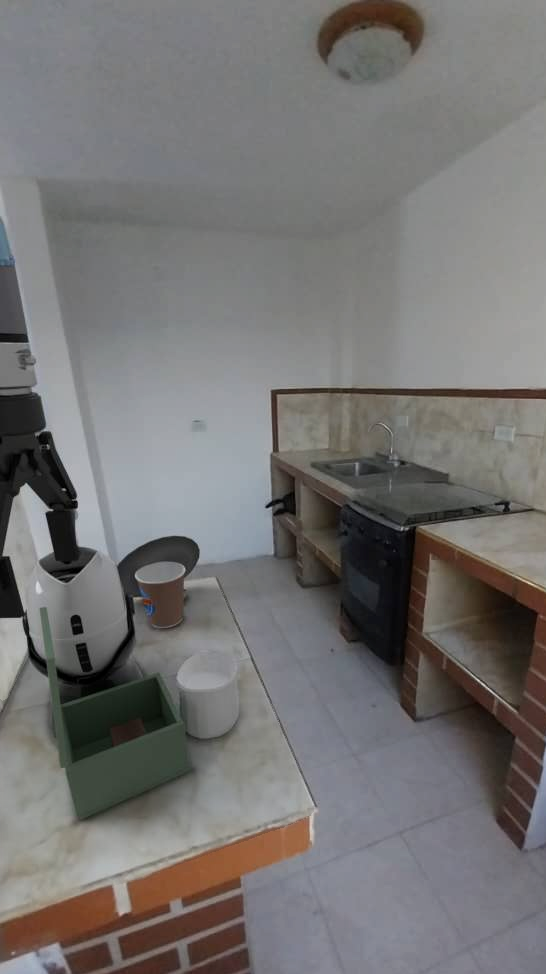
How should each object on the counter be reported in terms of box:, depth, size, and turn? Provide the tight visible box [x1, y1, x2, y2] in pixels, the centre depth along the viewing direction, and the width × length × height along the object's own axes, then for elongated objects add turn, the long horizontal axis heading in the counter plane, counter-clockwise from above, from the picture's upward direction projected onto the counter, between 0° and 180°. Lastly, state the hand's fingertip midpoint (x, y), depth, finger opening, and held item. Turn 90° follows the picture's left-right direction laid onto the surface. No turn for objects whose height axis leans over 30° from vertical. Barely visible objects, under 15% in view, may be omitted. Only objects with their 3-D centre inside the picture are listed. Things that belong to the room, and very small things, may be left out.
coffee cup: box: [135, 562, 185, 629], centre depth 100 cm, size 10×10×12 cm
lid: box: [40, 607, 68, 769], centre depth 57 cm, size 15×13×1 cm
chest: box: [61, 672, 191, 821], centre depth 65 cm, size 15×13×9 cm
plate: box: [117, 535, 201, 599], centre depth 106 cm, size 21×21×2 cm
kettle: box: [21, 509, 144, 741], centre depth 74 cm, size 24×16×32 cm, turn 25°
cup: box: [175, 649, 240, 739], centre depth 73 cm, size 10×10×10 cm
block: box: [109, 718, 146, 747], centre depth 66 cm, size 4×4×4 cm
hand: (42, 584), depth 53 cm, fingers open, 13 cm apart
